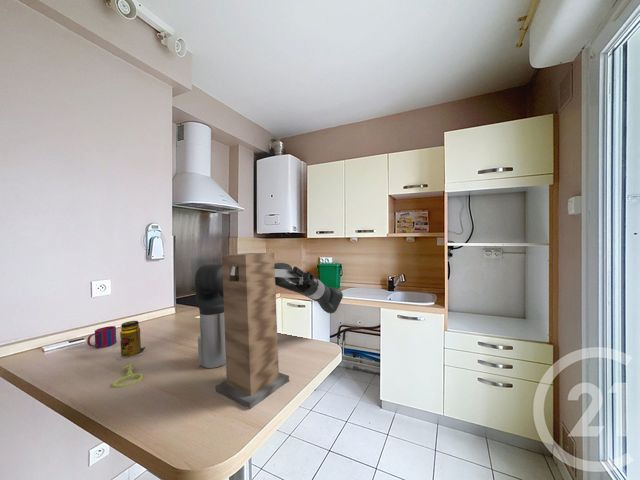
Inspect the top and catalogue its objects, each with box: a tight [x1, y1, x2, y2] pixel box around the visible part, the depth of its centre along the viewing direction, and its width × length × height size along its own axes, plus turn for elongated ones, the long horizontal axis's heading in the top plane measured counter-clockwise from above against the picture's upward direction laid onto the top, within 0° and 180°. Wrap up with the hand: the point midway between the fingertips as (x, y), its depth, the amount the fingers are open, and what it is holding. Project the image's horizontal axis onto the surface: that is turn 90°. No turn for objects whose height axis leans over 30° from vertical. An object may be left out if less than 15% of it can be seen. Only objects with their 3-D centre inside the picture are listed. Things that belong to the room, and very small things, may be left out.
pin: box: [230, 266, 300, 278], centre depth 75 cm, size 24×2×2 cm, turn 138°
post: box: [215, 252, 290, 410], centre depth 70 cm, size 14×14×37 cm
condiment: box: [117, 320, 147, 360], centre depth 95 cm, size 7×8×12 cm
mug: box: [86, 325, 117, 349], centre depth 103 cm, size 7×10×7 cm
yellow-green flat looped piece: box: [111, 362, 144, 389], centre depth 77 cm, size 7×12×2 cm, turn 51°
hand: (283, 268), depth 82 cm, fingers open, 8 cm apart
